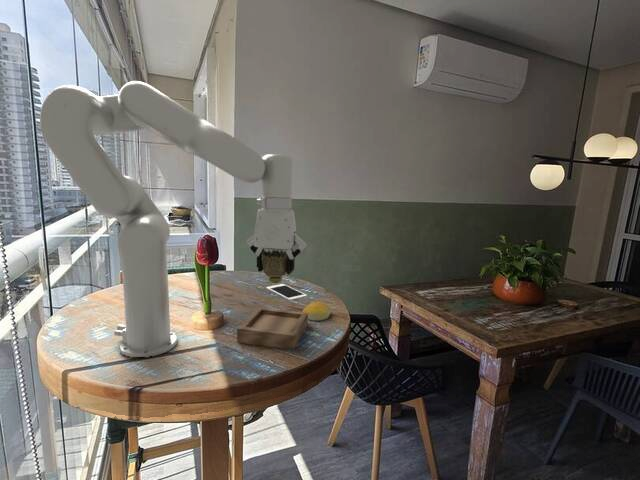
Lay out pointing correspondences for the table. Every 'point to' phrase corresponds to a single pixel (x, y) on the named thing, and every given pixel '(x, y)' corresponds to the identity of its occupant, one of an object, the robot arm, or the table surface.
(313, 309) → the bread roll
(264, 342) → the walnut tray
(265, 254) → the cup
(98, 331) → the table surface
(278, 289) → the cell phone
